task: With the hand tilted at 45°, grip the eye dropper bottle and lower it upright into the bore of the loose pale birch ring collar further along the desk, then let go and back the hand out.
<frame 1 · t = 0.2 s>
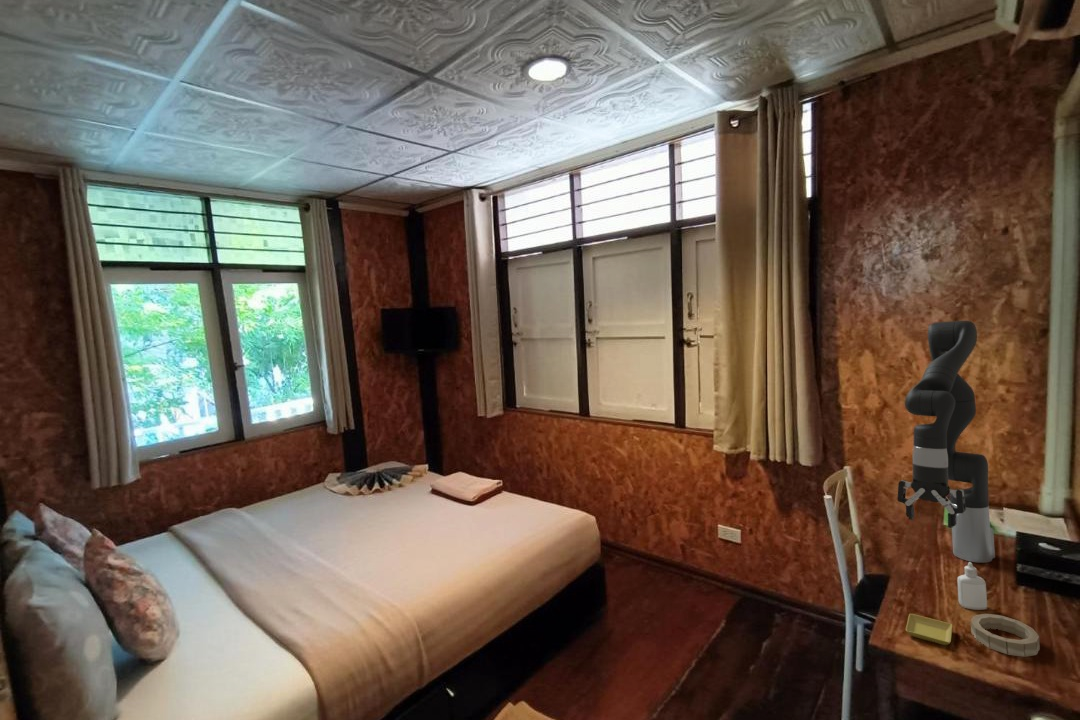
hand: (930, 523, 131), 22 cm above the table, tool pointing down, fingers open, 8 cm apart
eye dropper bottle: (973, 607, 128), on the table
yellow square tray: (929, 635, 120), on the table
birch ring collar: (1004, 640, 115), on the table
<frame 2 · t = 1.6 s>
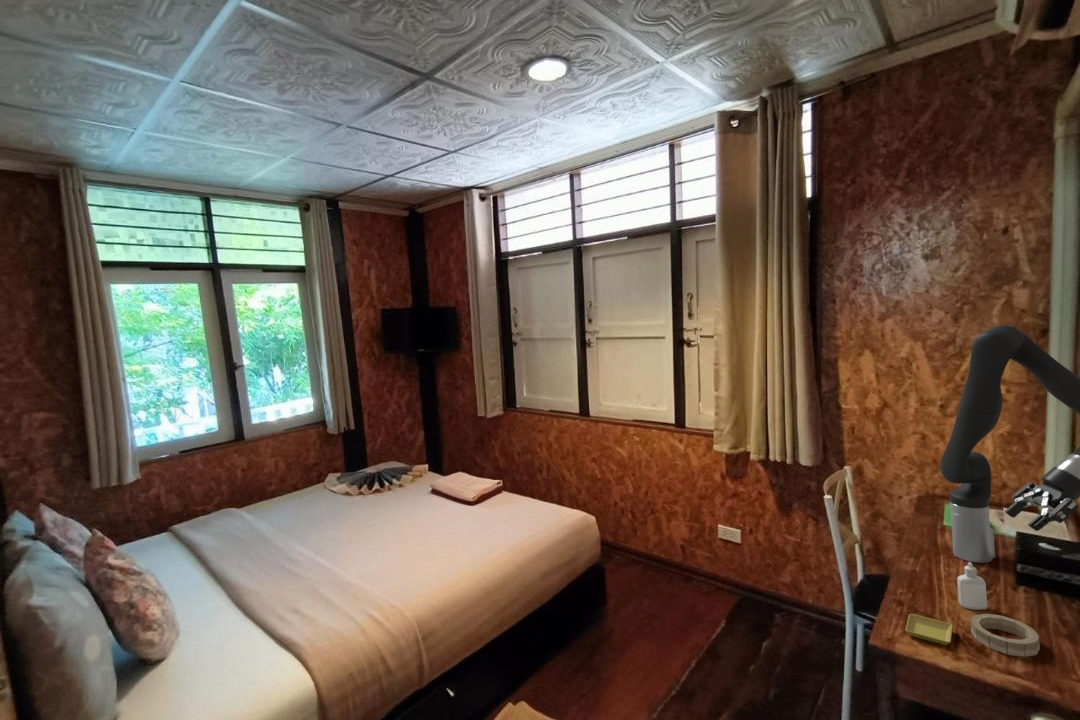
hand: (1020, 521, 124), 23 cm above the table, tool tilted 45°, fingers open, 8 cm apart
nothing on the table moved.
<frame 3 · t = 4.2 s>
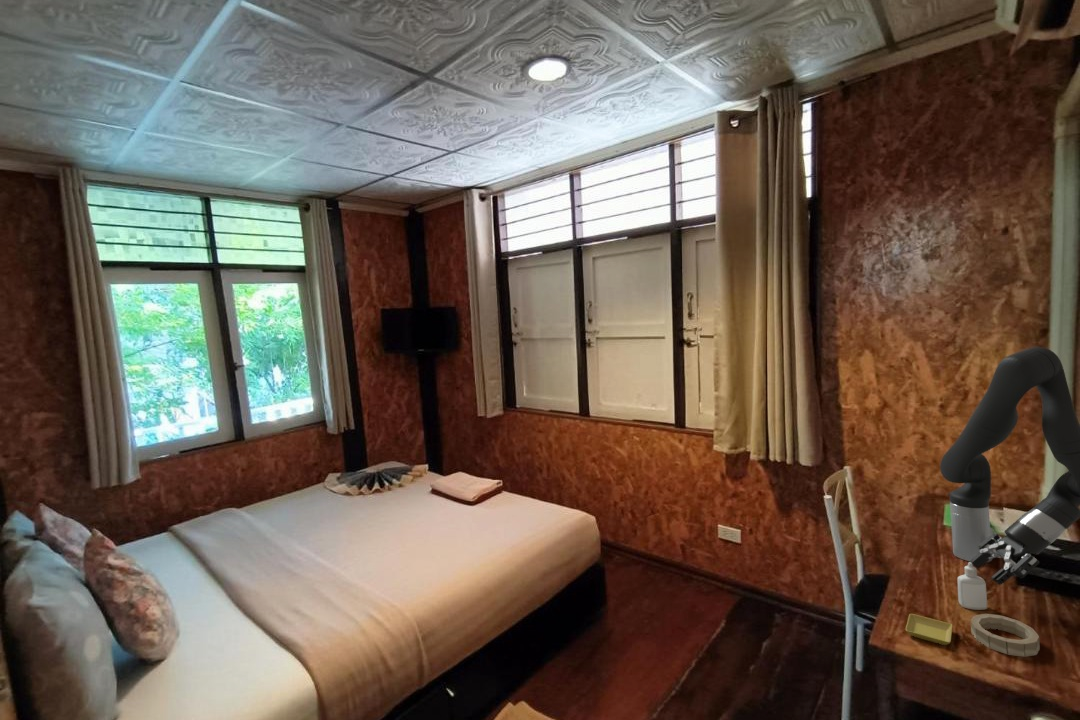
hand: (984, 573, 127), 9 cm above the table, tool tilted 45°, fingers open, 8 cm apart
nothing on the table moved.
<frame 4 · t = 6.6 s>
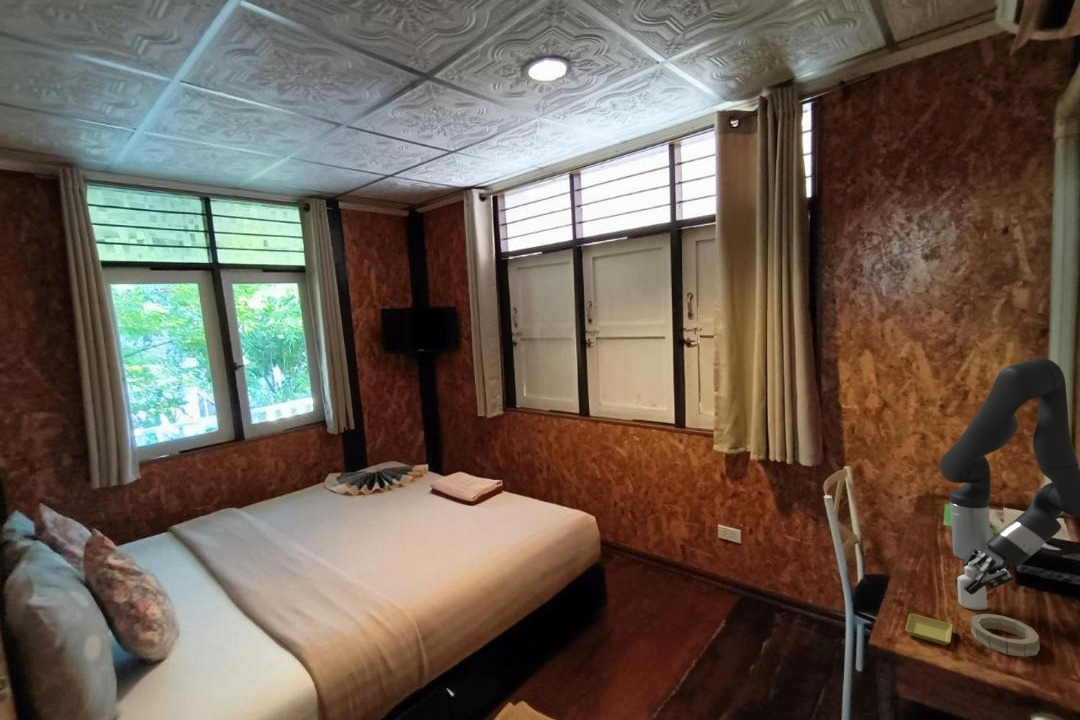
hand: (962, 587, 128), 5 cm above the table, tool tilted 45°, fingers closed on eye dropper bottle, 3 cm apart
eye dropper bottle: (973, 607, 128), on the table, touching gripper
everything else where it was.
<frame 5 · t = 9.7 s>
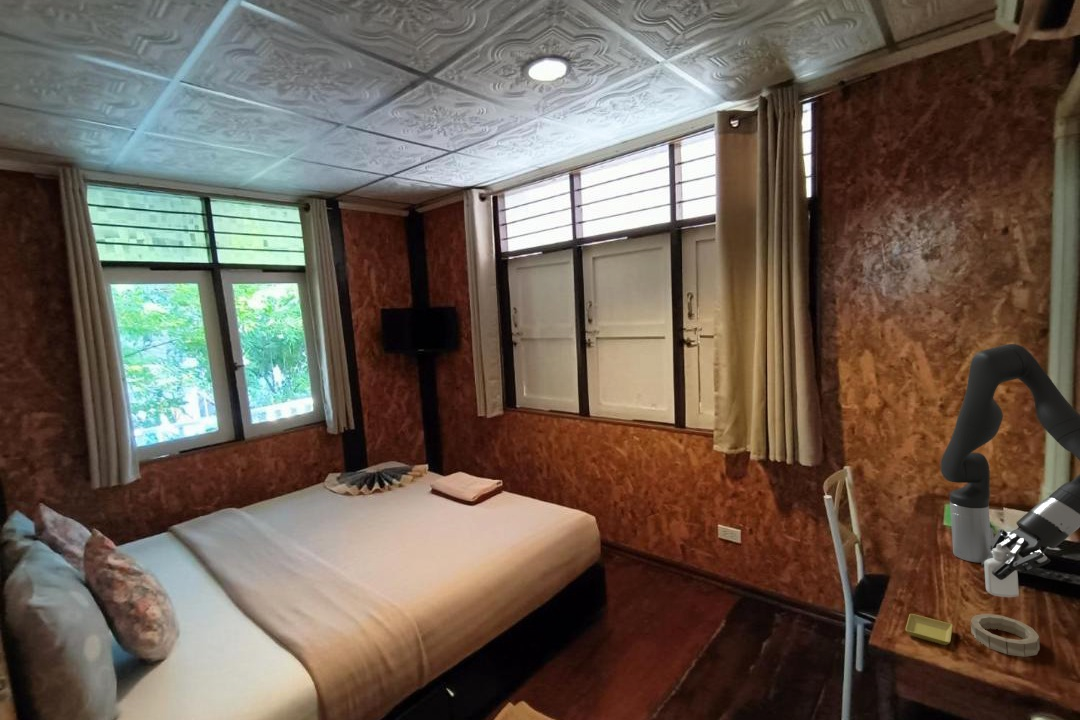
hand: (990, 572, 114), 17 cm above the table, tool tilted 45°, fingers closed on eye dropper bottle, 3 cm apart
eye dropper bottle: (1002, 594, 114), point 11 cm above the table, touching gripper
everything else where it was.
when the fingers open (6 cm above the table, at t = 12.7 s): eye dropper bottle drops 1 cm, resting in birch ring collar.
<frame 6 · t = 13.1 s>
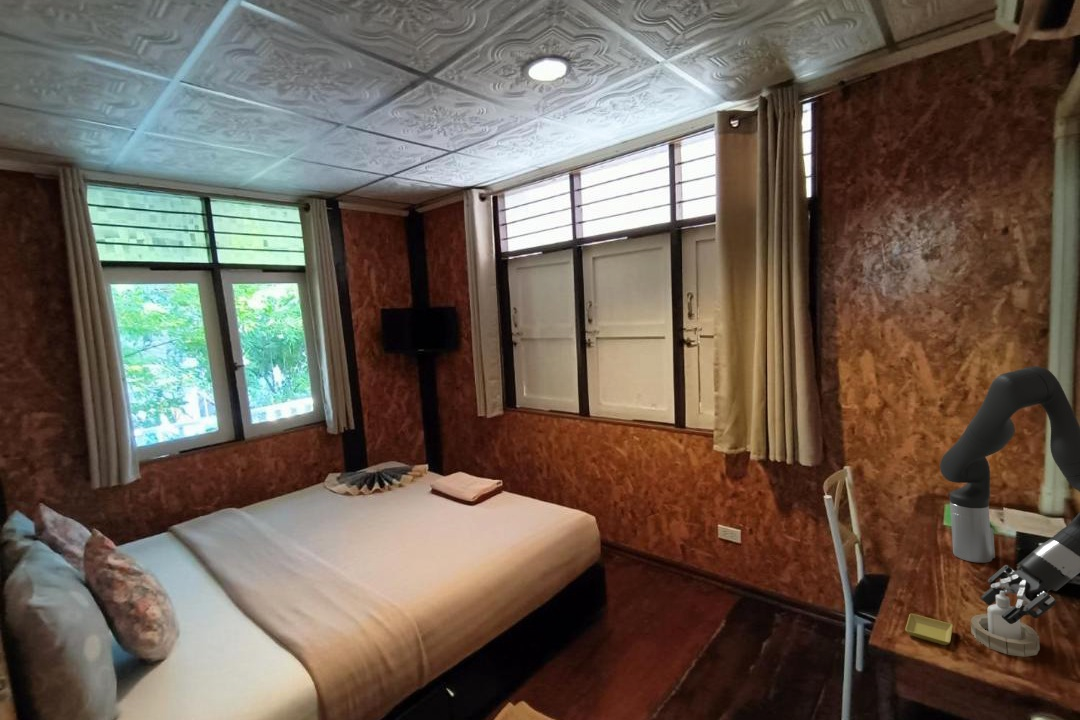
hand: (994, 610, 115), 7 cm above the table, tool tilted 45°, fingers open, 7 cm apart
eye dropper bottle: (1005, 640, 115), resting in birch ring collar
everything else where it was.
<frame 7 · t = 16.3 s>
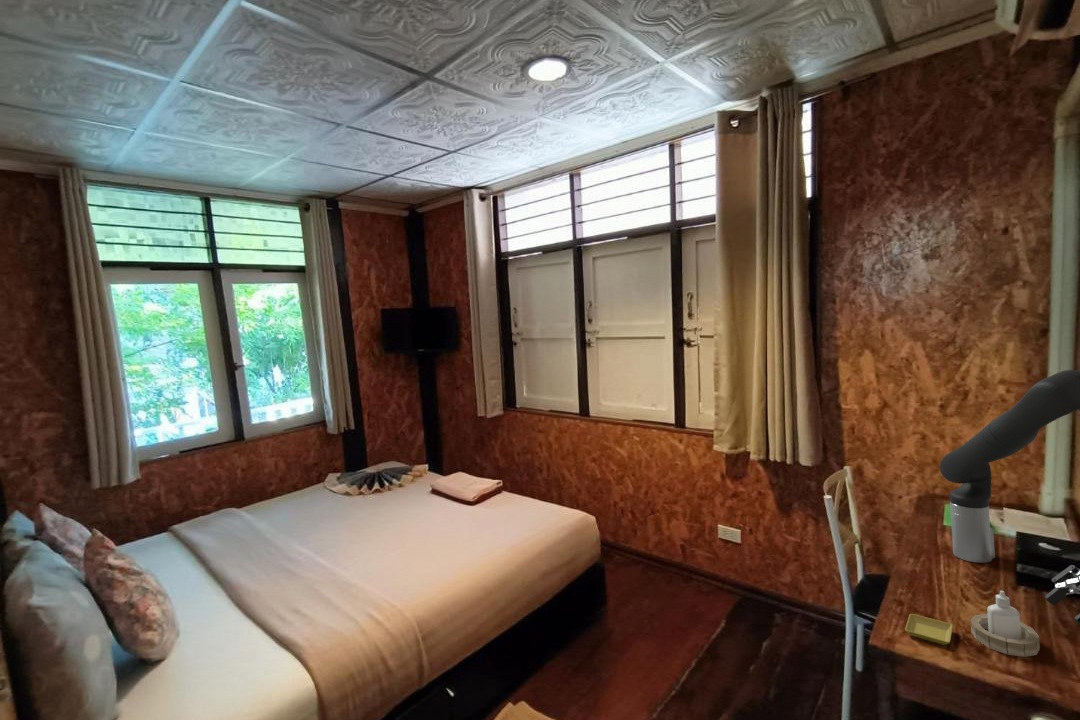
hand: (1063, 612, 111), 7 cm above the table, tool tilted 45°, fingers open, 8 cm apart
nothing on the table moved.
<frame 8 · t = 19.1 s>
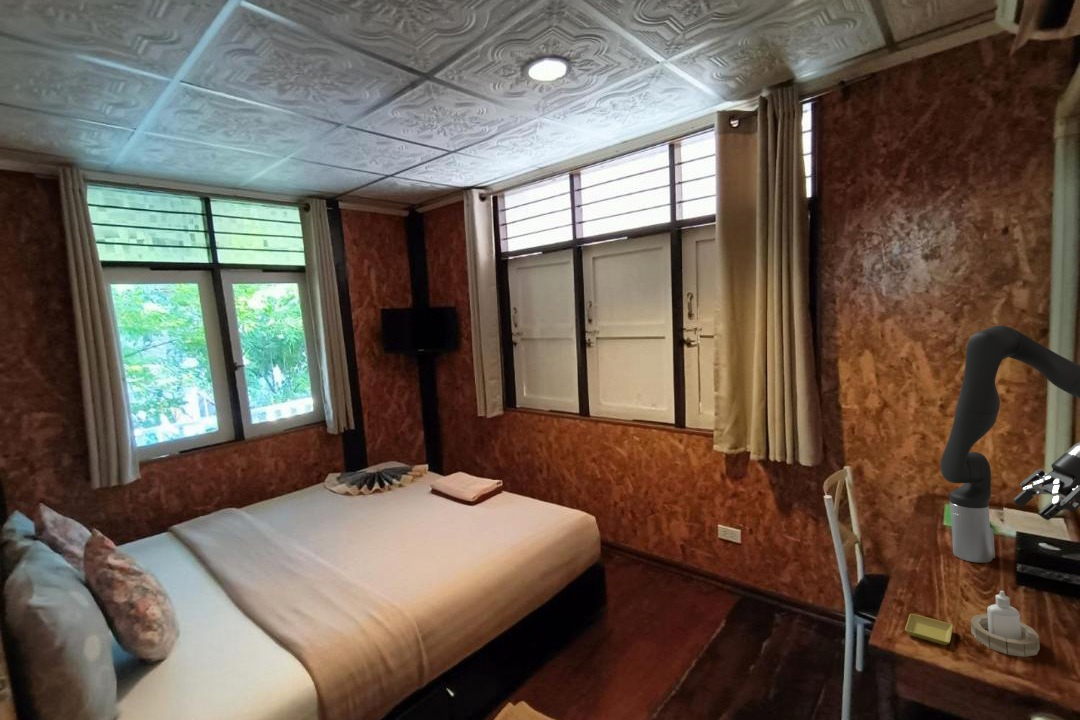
hand: (1029, 510, 118), 29 cm above the table, tool tilted 45°, fingers open, 8 cm apart
nothing on the table moved.
at the end: eye dropper bottle 0.2 cm off-centre on the birch ring collar, point 0.0 cm above the birch ring collar's base; eye dropper bottle tilted 0°; the gripper is holding nothing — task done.
